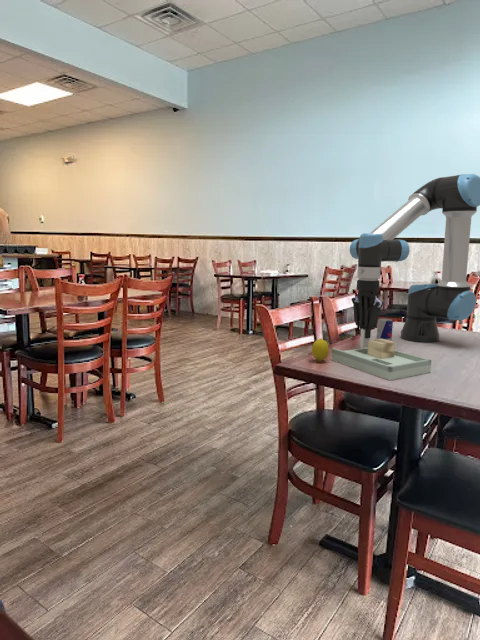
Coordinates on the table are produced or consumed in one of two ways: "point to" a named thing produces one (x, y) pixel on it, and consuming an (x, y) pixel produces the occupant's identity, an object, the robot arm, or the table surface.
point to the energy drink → (384, 329)
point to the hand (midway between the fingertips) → (364, 346)
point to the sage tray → (383, 363)
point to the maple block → (381, 348)
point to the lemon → (320, 349)
